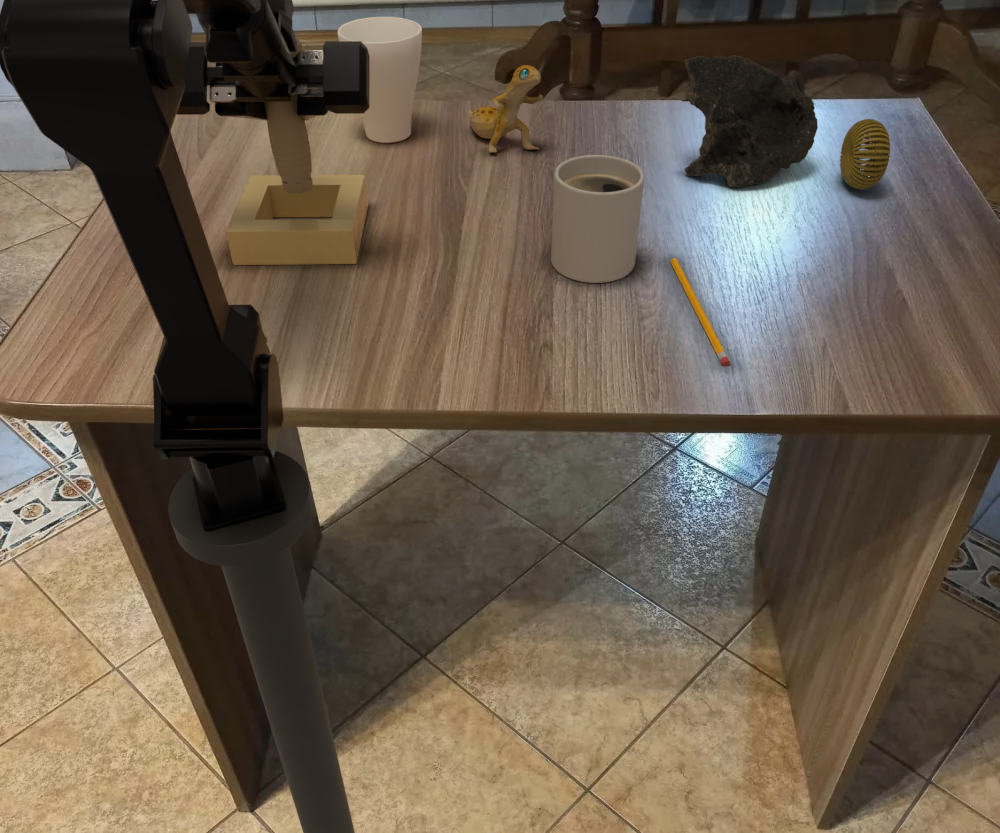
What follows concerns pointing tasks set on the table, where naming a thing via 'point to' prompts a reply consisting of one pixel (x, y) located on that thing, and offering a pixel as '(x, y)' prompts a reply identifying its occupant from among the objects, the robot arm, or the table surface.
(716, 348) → the pencil
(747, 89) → the rock
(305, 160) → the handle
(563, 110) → the table surface
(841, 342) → the table surface
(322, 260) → the stand
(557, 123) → the table surface
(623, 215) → the mug
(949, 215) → the table surface
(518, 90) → the toy
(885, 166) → the sculpture
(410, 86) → the cup
